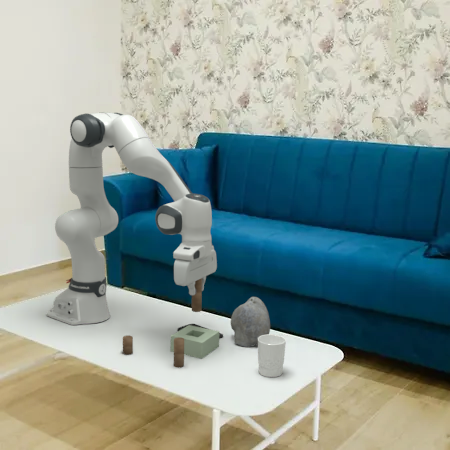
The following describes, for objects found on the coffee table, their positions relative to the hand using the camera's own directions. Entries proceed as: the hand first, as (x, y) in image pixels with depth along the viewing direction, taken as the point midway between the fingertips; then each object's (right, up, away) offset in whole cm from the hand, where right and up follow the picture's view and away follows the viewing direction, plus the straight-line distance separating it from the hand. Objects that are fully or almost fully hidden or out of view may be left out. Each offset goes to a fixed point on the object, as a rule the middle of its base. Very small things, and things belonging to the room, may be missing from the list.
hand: (196, 292), depth 190 cm
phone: (0, -16, +16) cm, 23 cm away
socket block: (-1, -18, +4) cm, 18 cm away
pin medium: (-5, -20, -9) cm, 22 cm away
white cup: (+22, -22, -12) cm, 33 cm away
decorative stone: (+16, -17, +11) cm, 26 cm away
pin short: (-21, -18, -1) cm, 28 cm away
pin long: (0, -6, +1) cm, 6 cm away
